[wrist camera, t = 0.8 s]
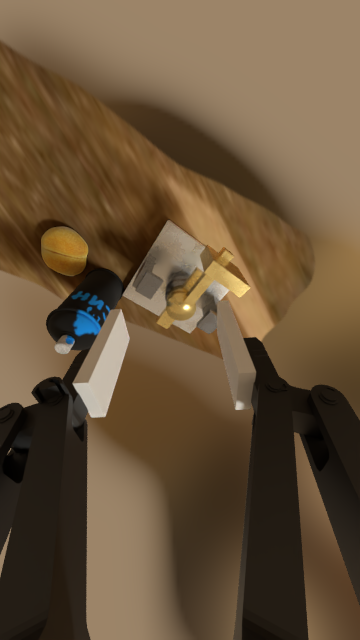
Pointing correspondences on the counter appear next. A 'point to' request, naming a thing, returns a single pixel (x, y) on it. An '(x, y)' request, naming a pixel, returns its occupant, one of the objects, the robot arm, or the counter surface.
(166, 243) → the socket base
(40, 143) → the counter surface
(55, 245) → the bread roll
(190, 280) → the gold branched bar piece
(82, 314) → the aerosol can
